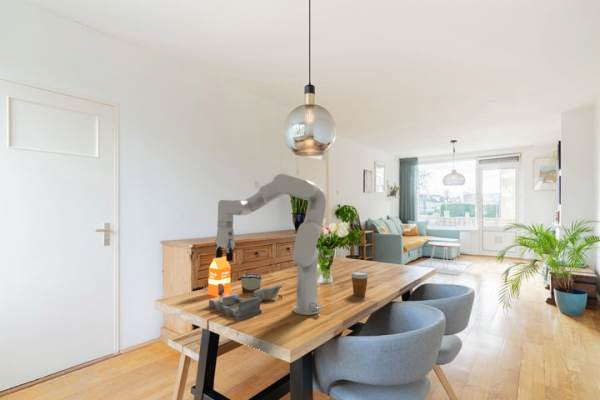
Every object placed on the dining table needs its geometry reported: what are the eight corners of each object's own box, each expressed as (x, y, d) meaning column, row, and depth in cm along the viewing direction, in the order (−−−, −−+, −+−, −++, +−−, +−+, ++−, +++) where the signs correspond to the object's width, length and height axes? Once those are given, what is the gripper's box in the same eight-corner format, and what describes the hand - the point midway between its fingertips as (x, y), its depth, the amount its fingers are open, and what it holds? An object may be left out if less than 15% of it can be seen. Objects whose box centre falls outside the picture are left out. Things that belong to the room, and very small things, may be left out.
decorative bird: (250, 300, 156) (251, 285, 156) (281, 297, 161) (281, 283, 162) (252, 303, 151) (252, 288, 151) (283, 300, 156) (283, 286, 156)
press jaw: (238, 302, 147) (238, 285, 147) (222, 306, 140) (222, 289, 141) (227, 297, 154) (227, 281, 154) (211, 301, 147) (211, 285, 147)
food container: (264, 291, 172) (264, 273, 172) (261, 294, 166) (261, 276, 166) (242, 290, 173) (243, 272, 173) (239, 293, 167) (239, 275, 167)
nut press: (261, 313, 137) (261, 296, 137) (239, 320, 129) (239, 302, 129) (230, 300, 155) (230, 286, 155) (208, 306, 146) (209, 290, 146)
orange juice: (230, 292, 168) (230, 256, 169) (217, 296, 161) (218, 259, 161) (220, 290, 173) (221, 255, 173) (208, 294, 166) (208, 257, 166)
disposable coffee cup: (349, 296, 164) (349, 274, 164) (351, 291, 173) (352, 270, 173) (367, 298, 161) (367, 275, 161) (368, 293, 170) (369, 271, 170)
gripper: (241, 225, 147) (240, 261, 147) (223, 223, 159) (222, 255, 159) (227, 226, 142) (226, 263, 142) (209, 223, 154) (208, 257, 154)
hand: (224, 259), depth 150 cm, fingers open, 9 cm apart
